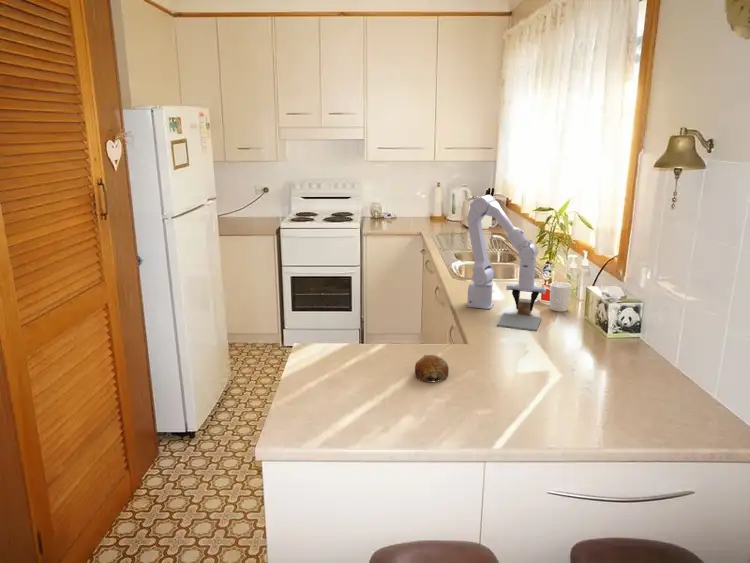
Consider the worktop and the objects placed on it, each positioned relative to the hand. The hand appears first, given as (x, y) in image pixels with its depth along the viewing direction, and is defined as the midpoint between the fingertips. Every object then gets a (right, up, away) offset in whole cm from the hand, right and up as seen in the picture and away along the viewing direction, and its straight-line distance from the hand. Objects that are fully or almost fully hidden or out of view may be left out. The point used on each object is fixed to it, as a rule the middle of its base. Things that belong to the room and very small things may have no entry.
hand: (524, 309), depth 219 cm
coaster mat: (-5, -4, -10) cm, 12 cm away
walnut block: (0, -1, 0) cm, 1 cm away
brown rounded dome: (-42, -17, -54) cm, 70 cm away
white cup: (+15, 0, +5) cm, 16 cm away
